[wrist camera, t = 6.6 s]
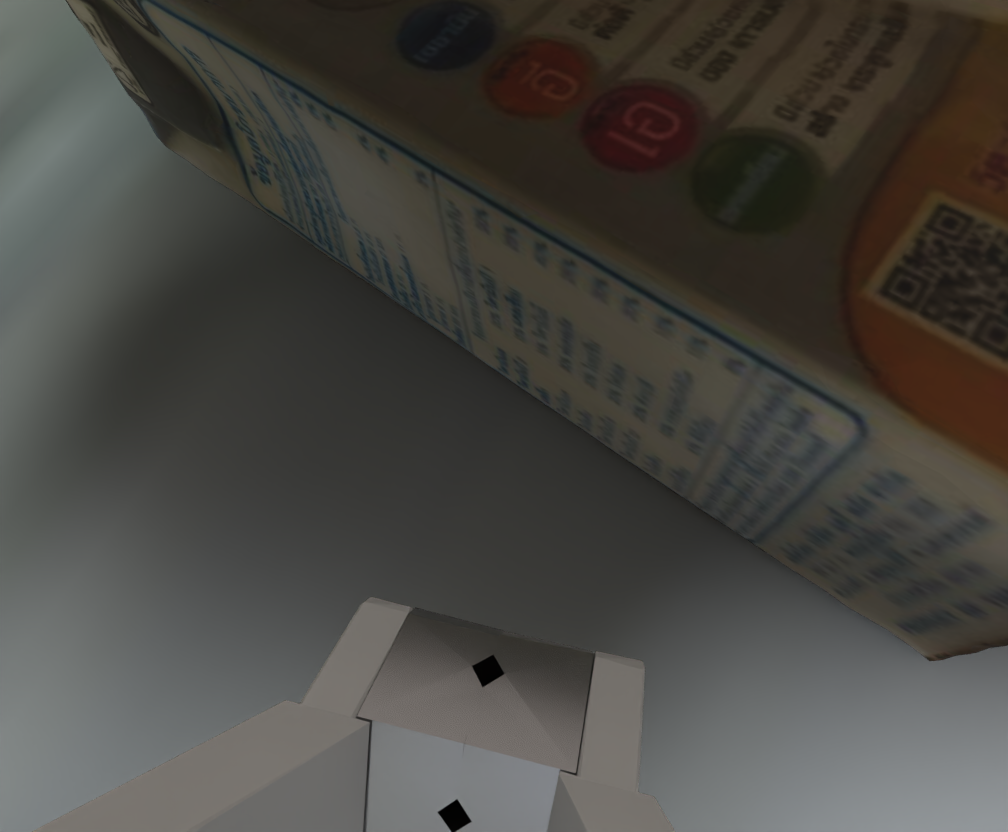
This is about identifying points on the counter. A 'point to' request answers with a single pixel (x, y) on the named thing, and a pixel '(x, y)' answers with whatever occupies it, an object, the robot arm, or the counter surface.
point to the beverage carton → (666, 239)
